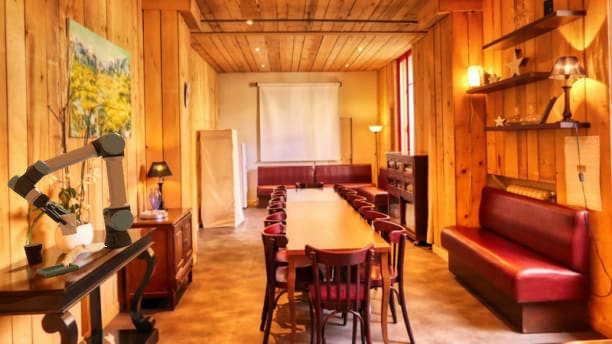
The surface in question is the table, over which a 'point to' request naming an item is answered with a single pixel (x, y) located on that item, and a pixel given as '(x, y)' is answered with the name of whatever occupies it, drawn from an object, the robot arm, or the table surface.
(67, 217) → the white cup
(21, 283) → the table surface
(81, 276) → the table surface
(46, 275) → the tray
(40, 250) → the coffee mug
